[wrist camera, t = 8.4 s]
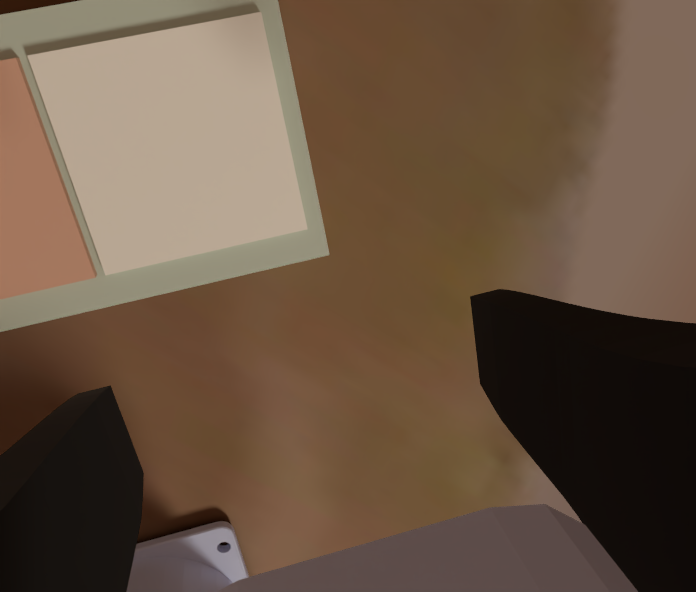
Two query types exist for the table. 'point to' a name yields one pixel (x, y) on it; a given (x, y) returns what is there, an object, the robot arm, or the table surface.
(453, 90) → the table surface
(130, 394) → the table surface
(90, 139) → the board
